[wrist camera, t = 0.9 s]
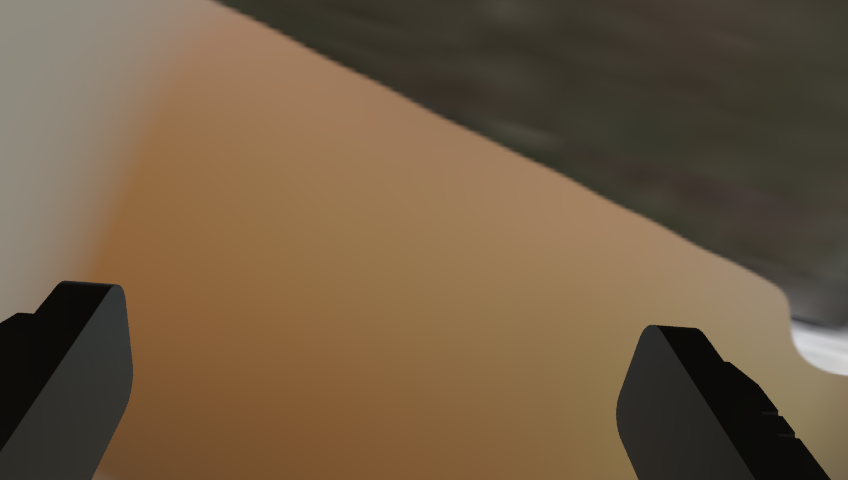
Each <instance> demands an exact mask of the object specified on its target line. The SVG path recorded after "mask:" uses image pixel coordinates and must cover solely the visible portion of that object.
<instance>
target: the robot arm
mask: <svg viewBox="0 0 848 480" xmlns="http://www.w3.org/2000/svg"><path fill="white" fill-rule="evenodd" d="M132 379H133V364H132V355H131V346H130V336H129V327H128V319H127V309H126V300H125V295H124V291H123V289H122V287H121V286H120V285H117V284H104V283H89V282H75V281H62V282H60V283H59V284H58V285H57V286H56V287H55V288H54V290H53V291H52V292H51V294H50V295H49V296H48V297H47V298H46V300H45V301H44V302H43V303H42V305H41V306H40V307H39V308H38V309H37V311H36V312H35V313H34V314H31V313H30V314H29V313H16V314H15V315H13V316H11V317H10V318H8V319H6V320H5V321H3V322H1V323H0V480H91V479H92V477H93V475H94V472H95V471H96V469H97V467H98V465H99V462H100V460H101V459H102V456H103V454H104V452H105V450H106V448H107V446H108V444H109V442H110V440H111V438H112V436H113V434H114V432H115V430H116V428H117V426H118V424H119V421H120V420H121V418H122V415H123V413H124V411H125V409H126V406H127V404H128V401H129V397H130V393H131V387H132ZM616 420H617V427H618V432H619V435H620V438H621V440H622V443H623V445H624V447H625V450H626V452H627V454H628V457H629V459H630V461H631V463H632V466H633V468H634V470H635V473H636V475H637V477H638V479H639V480H831V479H830V478H829V477H828V475H827V474H826V473H825V472H824V470H823V469H822V468H821V466H820V465H819V464H818V462H817V461H816V460H815V458H814V457H813V456H812V454H811V453H810V452H809V450H808V449H807V448H806V447H805V445H804V444H803V443H802V441H801V440H800V439H799V438H795V432H794V431H793V429H792V428H791V427H790V426H789V424H788V423H787V422H786V420H785V419H784V418H783V416H778V410H777V409H776V407H775V406H774V404H773V403H772V402H771V401H770V399H769V398H768V397H767V395H766V394H765V393H764V391H763V390H762V389H761V388H760V386H759V385H758V384H757V383H755V382H754V381H753V380H752V379H750V378H749V377H748V376H747V375H745V374H744V373H743V372H742V371H740V370H739V369H738V368H737V367H735V366H734V365H733V364H731V363H730V362H724V361H723V359H722V358H721V357H720V355H719V354H718V353H717V351H716V350H715V348H714V347H713V346H712V344H711V343H710V342H709V340H708V339H707V337H706V336H705V335H704V334H703V332H702V331H700V330H699V329H697V328H687V327H673V326H660V325H649V326H647V327H646V328H645V329H644V330H643V332H642V334H641V336H640V339H639V341H638V344H637V347H636V350H635V352H634V355H633V358H632V361H631V364H630V366H629V369H628V372H627V375H626V378H625V380H624V383H623V386H622V389H621V391H620V395H619V398H618V402H617V409H616Z"/></svg>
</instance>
